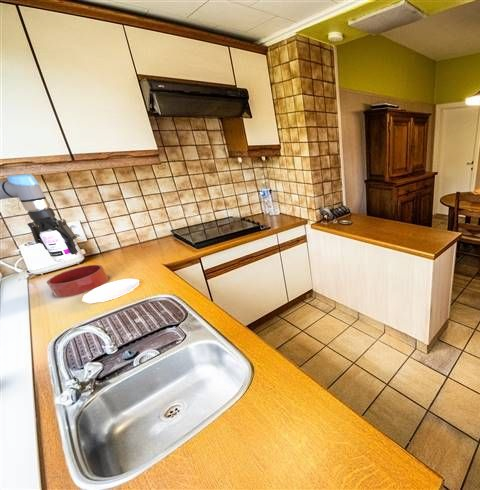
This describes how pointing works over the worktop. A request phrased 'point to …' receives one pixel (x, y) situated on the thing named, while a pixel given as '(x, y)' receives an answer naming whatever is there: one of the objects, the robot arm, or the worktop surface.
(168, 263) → the worktop surface
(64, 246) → the supplement can
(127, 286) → the plate
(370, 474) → the worktop surface
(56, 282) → the red round shallow bowl
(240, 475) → the worktop surface
